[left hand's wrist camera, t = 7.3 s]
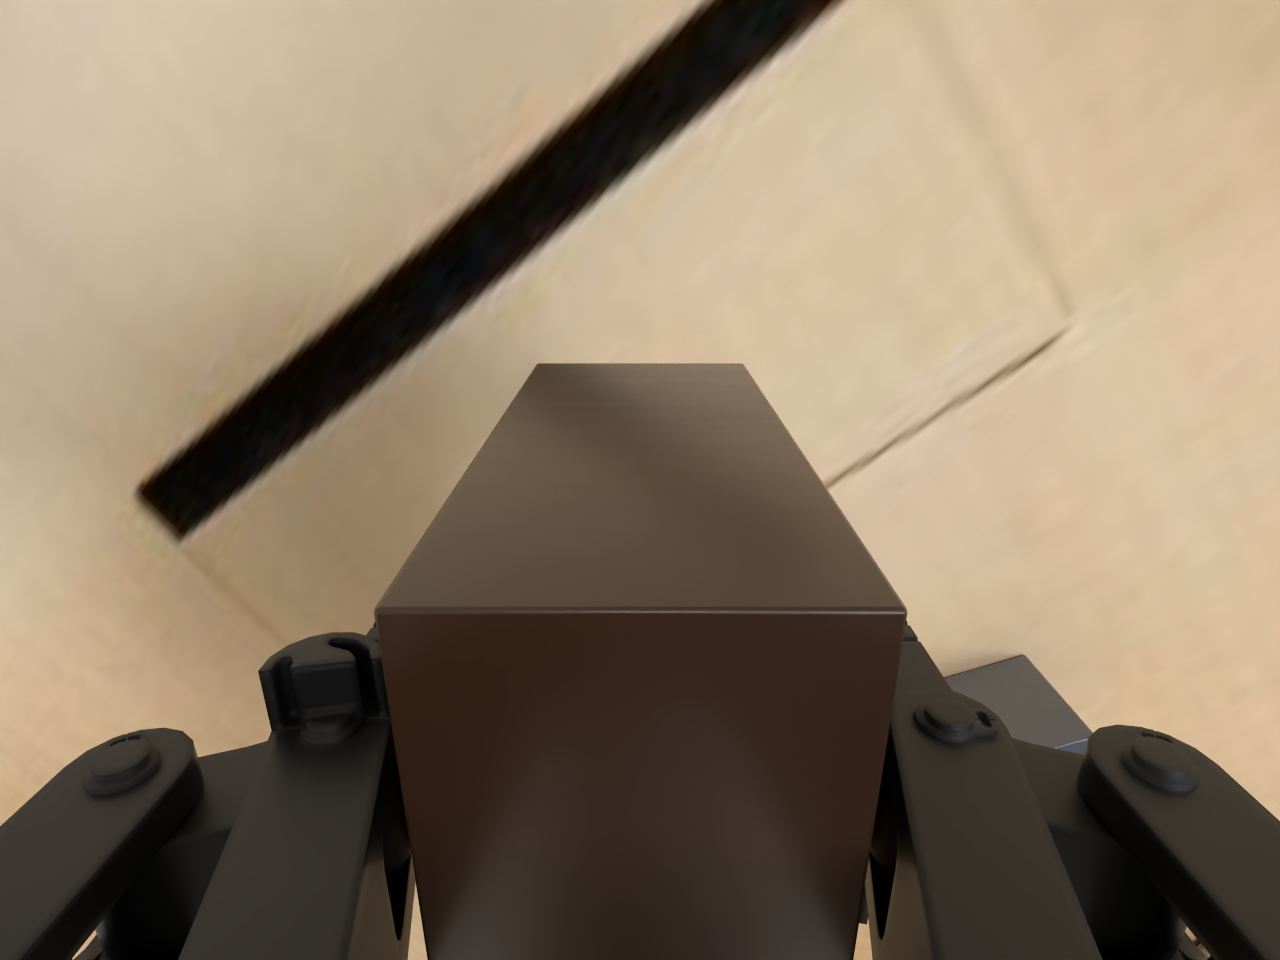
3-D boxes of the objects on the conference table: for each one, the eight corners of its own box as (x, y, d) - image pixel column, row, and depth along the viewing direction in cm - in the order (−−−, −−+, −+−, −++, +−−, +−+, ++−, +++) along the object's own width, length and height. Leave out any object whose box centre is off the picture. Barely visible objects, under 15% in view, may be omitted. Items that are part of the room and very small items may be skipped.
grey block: (930, 681, 30) (984, 766, 26) (1024, 654, 30) (1096, 735, 25) (949, 751, 32) (1003, 845, 27) (1039, 726, 31) (1110, 817, 26)
